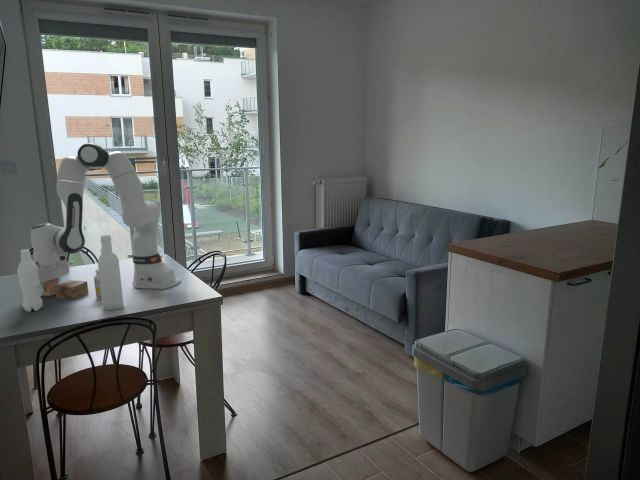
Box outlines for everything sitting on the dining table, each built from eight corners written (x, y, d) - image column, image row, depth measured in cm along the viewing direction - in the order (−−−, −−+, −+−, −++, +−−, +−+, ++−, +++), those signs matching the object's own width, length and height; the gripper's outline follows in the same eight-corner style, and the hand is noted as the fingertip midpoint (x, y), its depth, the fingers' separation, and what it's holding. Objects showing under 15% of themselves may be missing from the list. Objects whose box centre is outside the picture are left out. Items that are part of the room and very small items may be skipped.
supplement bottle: (114, 294, 213) (111, 266, 210) (110, 299, 207) (107, 270, 204) (98, 295, 212) (95, 267, 209) (94, 300, 206) (91, 271, 203)
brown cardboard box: (60, 292, 216) (58, 279, 215) (50, 296, 211) (48, 283, 210) (51, 291, 218) (49, 278, 217) (40, 295, 213) (38, 282, 211)
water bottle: (21, 313, 191) (12, 253, 185) (24, 308, 197) (15, 249, 192) (42, 311, 193) (33, 251, 188) (44, 305, 200) (36, 247, 195)
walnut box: (88, 294, 215) (87, 281, 213) (73, 300, 206) (72, 287, 205) (71, 292, 217) (70, 280, 216) (56, 299, 208) (54, 286, 207)
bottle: (127, 304, 200) (120, 234, 193) (115, 311, 192) (107, 238, 186) (111, 303, 201) (103, 233, 195) (98, 309, 194) (90, 237, 188)
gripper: (30, 266, 200) (35, 297, 203) (69, 254, 219) (73, 283, 222) (19, 265, 202) (24, 296, 205) (59, 254, 221) (63, 282, 224)
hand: (50, 289), depth 214 cm, fingers closed on brown cardboard box, 5 cm apart
